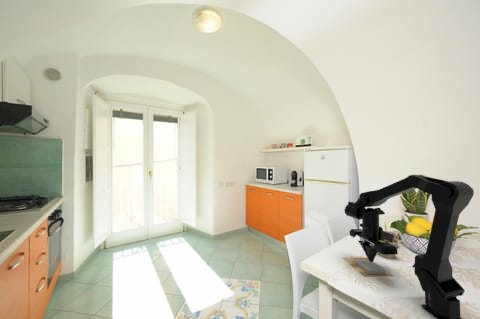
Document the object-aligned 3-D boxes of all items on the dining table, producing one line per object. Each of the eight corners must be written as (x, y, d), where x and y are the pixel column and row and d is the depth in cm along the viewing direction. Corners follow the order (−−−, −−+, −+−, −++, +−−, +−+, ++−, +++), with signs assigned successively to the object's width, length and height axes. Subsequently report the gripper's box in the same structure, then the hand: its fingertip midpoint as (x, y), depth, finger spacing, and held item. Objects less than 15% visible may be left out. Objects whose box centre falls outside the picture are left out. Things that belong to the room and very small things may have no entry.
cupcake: (375, 243, 103) (375, 221, 103) (384, 240, 106) (384, 219, 106) (394, 249, 95) (393, 226, 95) (402, 246, 98) (402, 224, 99)
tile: (371, 264, 78) (385, 274, 71) (356, 264, 78) (368, 274, 71) (371, 260, 78) (385, 269, 71) (355, 260, 78) (368, 270, 71)
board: (394, 278, 70) (394, 275, 70) (364, 279, 70) (364, 276, 70) (367, 259, 84) (367, 257, 84) (342, 260, 84) (342, 257, 84)
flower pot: (404, 263, 81) (404, 244, 82) (380, 261, 83) (380, 242, 83) (391, 253, 91) (391, 236, 91) (370, 251, 92) (370, 234, 93)
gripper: (411, 231, 66) (412, 274, 65) (371, 216, 84) (372, 250, 84) (382, 231, 65) (382, 275, 65) (348, 216, 84) (349, 250, 83)
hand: (371, 261), depth 74 cm, fingers closed
